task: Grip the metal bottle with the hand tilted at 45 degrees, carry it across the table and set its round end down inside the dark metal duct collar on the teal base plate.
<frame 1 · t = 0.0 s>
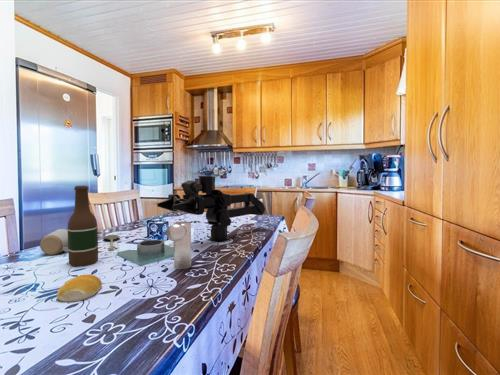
hand: (164, 206, 91), 17 cm above the table, tool horizontal, fingers open, 9 cm apart
duct collar: (151, 254, 91), on the table
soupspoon: (111, 245, 105), on the table
metal bottle: (182, 266, 79), on the table
beige cylinder: (62, 252, 94), on the table
bread roll: (80, 295, 62), on the table
beer bottle: (84, 263, 83), on the table
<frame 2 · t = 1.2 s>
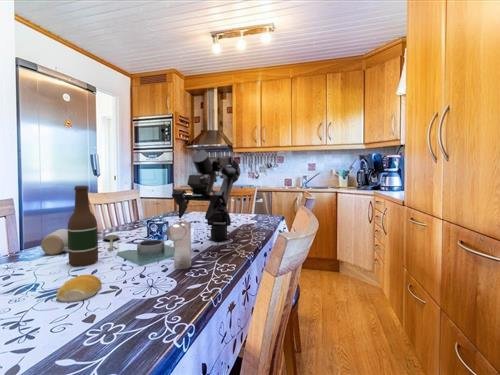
hand: (192, 218, 86), 13 cm above the table, tool tilted 45°, fingers open, 9 cm apart
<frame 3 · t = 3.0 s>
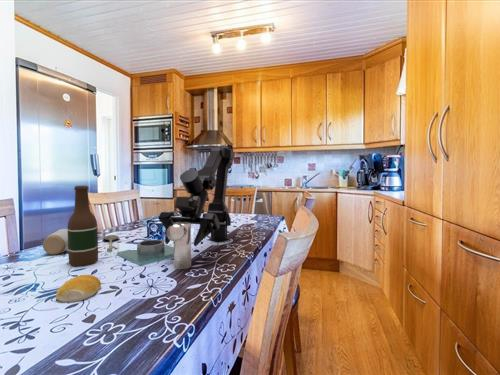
hand: (180, 244, 78), 7 cm above the table, tool tilted 45°, fingers open, 9 cm apart
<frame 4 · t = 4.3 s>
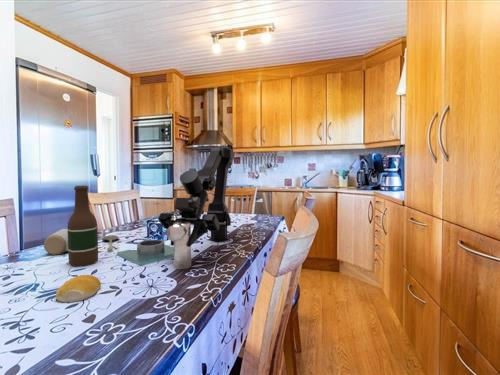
hand: (180, 245, 78), 7 cm above the table, tool tilted 45°, fingers closed on metal bottle, 5 cm apart
metal bottle: (182, 266, 79), on the table, touching gripper
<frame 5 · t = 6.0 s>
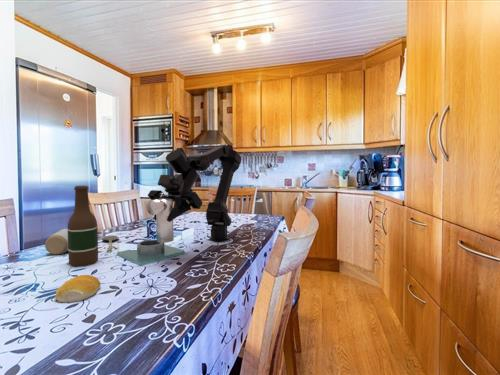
hand: (161, 220, 81), 13 cm above the table, tool tilted 45°, fingers closed on metal bottle, 5 cm apart
metal bottle: (165, 240, 83), point 7 cm above the table, touching gripper
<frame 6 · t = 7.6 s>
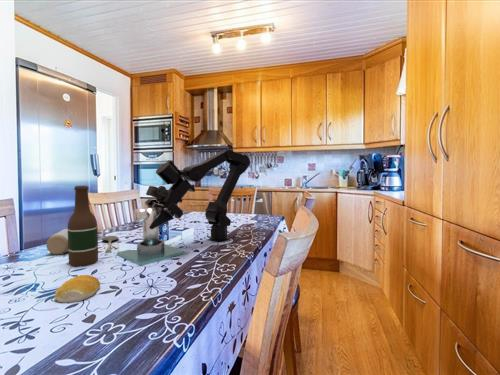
hand: (146, 227, 90), 10 cm above the table, tool tilted 45°, fingers closed on metal bottle, 5 cm apart
metal bottle: (151, 245, 91), point 3 cm above the table, touching gripper
when the fingers open (9 cm above the table, at t = 7.9 s): metal bottle drops 2 cm, resting on duct collar.
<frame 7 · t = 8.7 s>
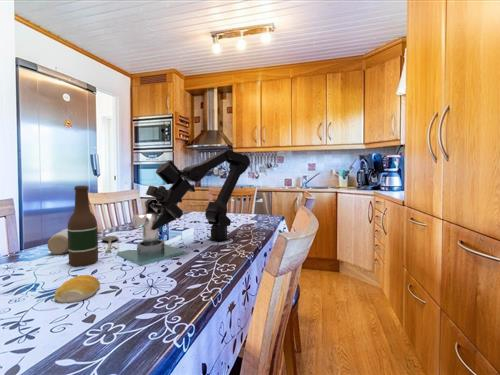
hand: (146, 227, 90), 10 cm above the table, tool tilted 45°, fingers open, 9 cm apart
metal bottle: (151, 251, 91), point 1 cm above the table, touching duct collar
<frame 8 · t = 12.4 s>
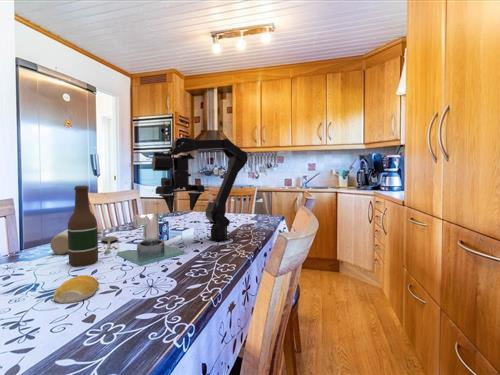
hand: (181, 211, 102), 13 cm above the table, tool pointing down, fingers open, 9 cm apart
at the end: metal bottle 0.1 cm off-centre on the duct collar, point 1.0 cm above the duct collar's base; metal bottle tilted 0°; the gripper is holding nothing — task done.
